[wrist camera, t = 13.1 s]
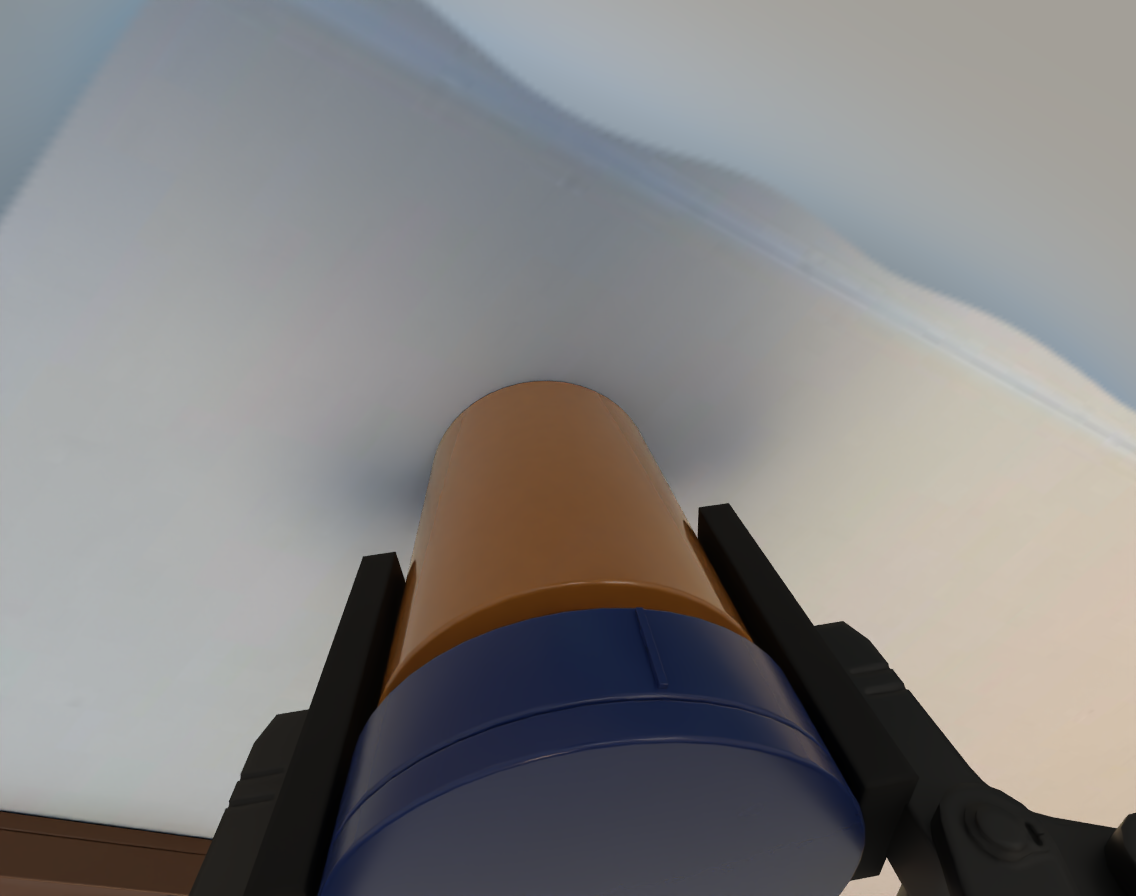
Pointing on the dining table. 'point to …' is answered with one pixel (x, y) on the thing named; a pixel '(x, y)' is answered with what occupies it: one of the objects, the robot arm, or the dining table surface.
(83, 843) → the tray
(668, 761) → the jar lid
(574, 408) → the jar
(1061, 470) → the dining table surface
